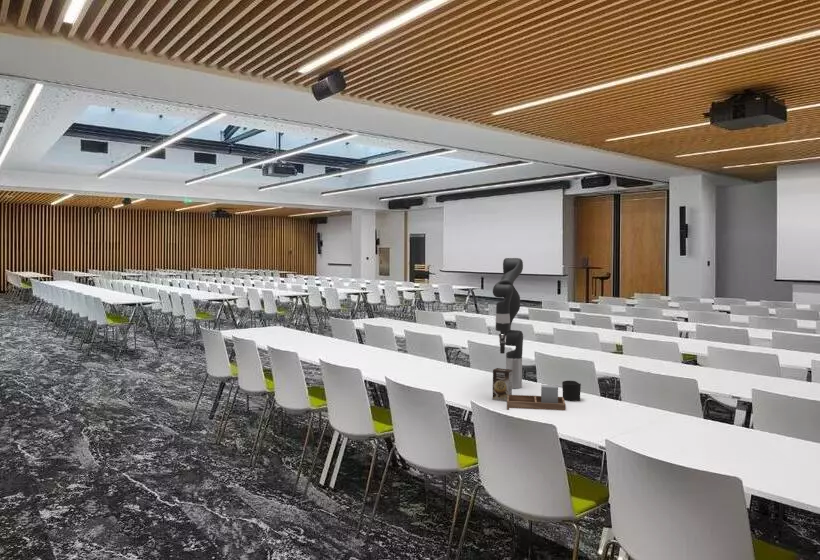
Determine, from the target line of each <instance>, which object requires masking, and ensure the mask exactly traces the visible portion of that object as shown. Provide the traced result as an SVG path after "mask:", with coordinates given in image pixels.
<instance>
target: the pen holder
mask: <svg viewBox="0 0 820 560" xmlns="http://www.w3.org/2000/svg"><path fill="white" fill-rule="evenodd" d="M561 385H562V397H563V398H564V401H566V402H579V401H581V388H582V384H581V383H579V382H578V381H576V380H564V381H561Z"/></svg>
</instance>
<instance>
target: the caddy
mask: <svg viewBox="0 0 820 560" xmlns="http://www.w3.org/2000/svg"><path fill="white" fill-rule="evenodd" d="M566 408H567V407H566V402H565V400H564V398H563V396H558V404H557V403H541V395H523V394H521V395H520V394H512V395H507V401H506V410H508V411H509V410H510V409H525V410H527V409H528V410H550V411H552V410H553V411H566Z"/></svg>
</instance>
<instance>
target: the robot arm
mask: <svg viewBox="0 0 820 560" xmlns="http://www.w3.org/2000/svg"><path fill="white" fill-rule="evenodd" d="M523 263H524V262H523V260H522V259H521V258H519V257H505V258H504V259H503V261H502V271H503V272H502V273H503V275H502V276H501V278H500V280H499V281H498V282H496V283H495V284H494V285H493V288H492V294H493V296H494V297H495V298H498V299H499V298H500V299H501V298H502V299H503V301H499V302H497V303H496V305H495V306H496V308H495V313H496V314H495V331H496V332H500V333H498V340H499V347H500V350H499V353H500V354H505V352H506V351H505V349H506V346H507V347H508V346H509V347H515V348H514V349H513V350H510V351H507V352H506V355H505V369H510V370H512V389H522V388H523V345H524V334H523V331H522V330H520V329H519V330H517V329H516V330H515V329H511V327H512V323H513V321H514V319H515V318H516V316H517V314H518V313H519V311H520V309H521V297H520V294H519V292H518V291H517V288H516V287H515V286H514V283H515V281H516V280H517V279H518V278H519V276H520V275H521V274H522V272H523V268H524V264H523Z"/></svg>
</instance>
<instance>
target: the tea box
mask: <svg viewBox="0 0 820 560" xmlns="http://www.w3.org/2000/svg"><path fill="white" fill-rule="evenodd" d="M540 388H541V389H540V394H541V395H540V396H541V403H557V404H558V397H559V386H558V385H554V384H553V385H552V384H541V387H540Z"/></svg>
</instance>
